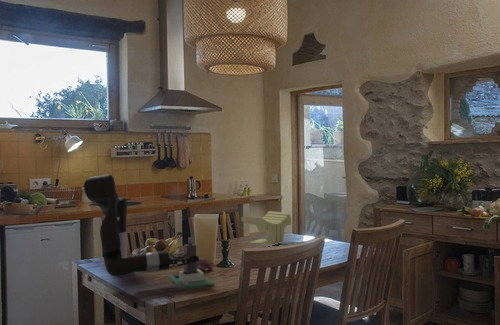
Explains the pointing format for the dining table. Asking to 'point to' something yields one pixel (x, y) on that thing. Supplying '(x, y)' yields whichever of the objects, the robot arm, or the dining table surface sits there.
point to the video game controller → (203, 264)
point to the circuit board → (190, 280)
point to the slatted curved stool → (270, 226)
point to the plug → (189, 252)
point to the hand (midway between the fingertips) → (196, 257)
